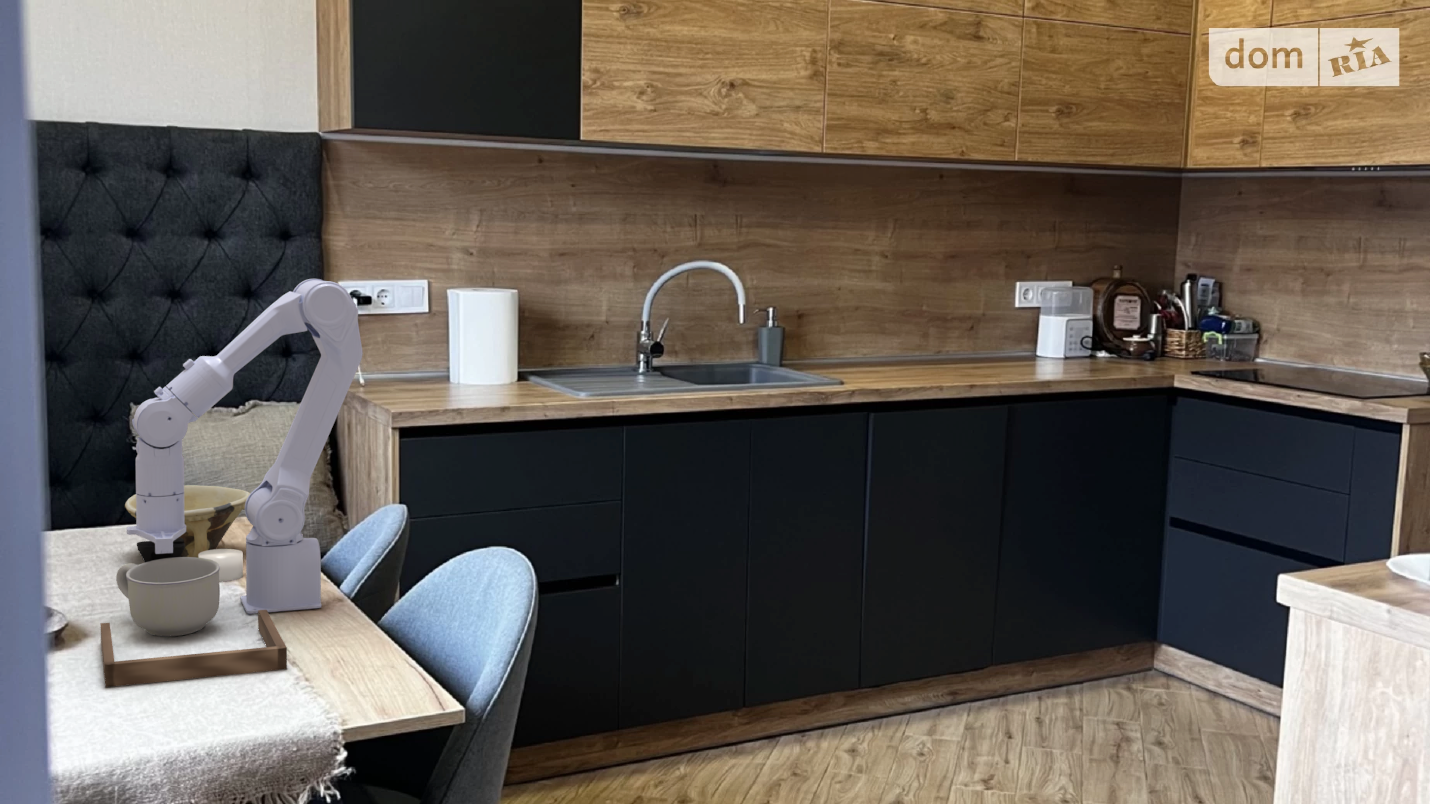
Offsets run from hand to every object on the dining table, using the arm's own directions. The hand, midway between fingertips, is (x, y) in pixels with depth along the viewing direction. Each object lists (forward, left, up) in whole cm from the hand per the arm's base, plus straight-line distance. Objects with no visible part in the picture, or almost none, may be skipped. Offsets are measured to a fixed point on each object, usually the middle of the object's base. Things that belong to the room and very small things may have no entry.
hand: (161, 596), depth 175 cm
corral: (-2, +19, -3) cm, 19 cm away
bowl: (-6, -32, -3) cm, 33 cm away
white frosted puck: (-9, -18, -3) cm, 21 cm away
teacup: (0, +6, -3) cm, 7 cm away
